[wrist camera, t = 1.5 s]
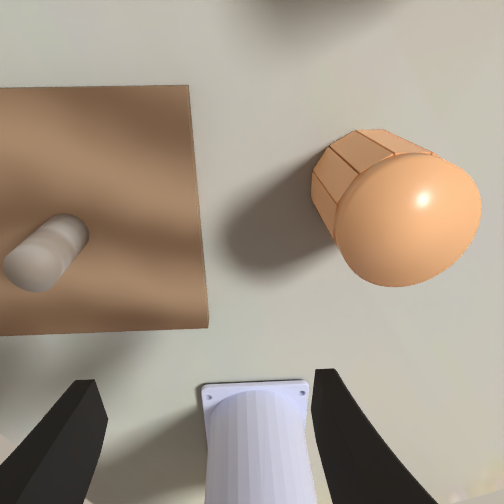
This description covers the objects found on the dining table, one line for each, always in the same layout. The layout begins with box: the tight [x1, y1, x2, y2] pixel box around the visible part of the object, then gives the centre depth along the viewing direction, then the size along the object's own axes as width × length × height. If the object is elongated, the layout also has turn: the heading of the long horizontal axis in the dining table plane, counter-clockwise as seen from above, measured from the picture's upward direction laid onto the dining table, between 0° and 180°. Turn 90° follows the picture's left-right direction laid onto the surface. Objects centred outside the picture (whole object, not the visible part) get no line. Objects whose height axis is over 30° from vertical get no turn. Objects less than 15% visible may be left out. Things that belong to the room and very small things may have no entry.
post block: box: [0, 85, 209, 336], centre depth 18 cm, size 14×14×5 cm
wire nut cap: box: [311, 130, 481, 287], centre depth 17 cm, size 6×6×6 cm
